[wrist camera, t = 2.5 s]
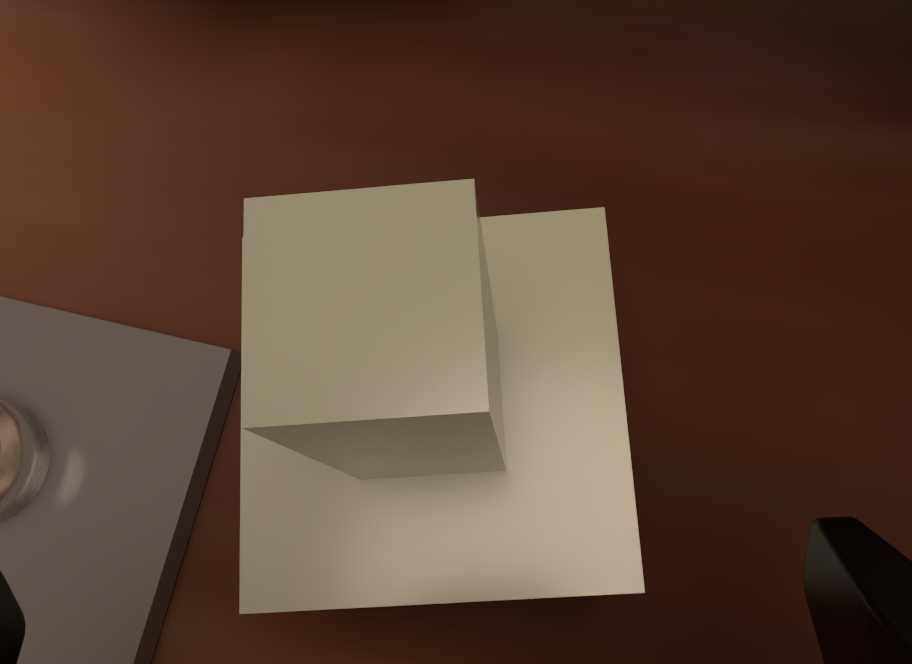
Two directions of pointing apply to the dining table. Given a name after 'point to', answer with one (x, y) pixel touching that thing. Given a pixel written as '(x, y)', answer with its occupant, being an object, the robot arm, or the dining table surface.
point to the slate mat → (107, 477)
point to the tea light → (20, 458)
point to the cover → (429, 404)
